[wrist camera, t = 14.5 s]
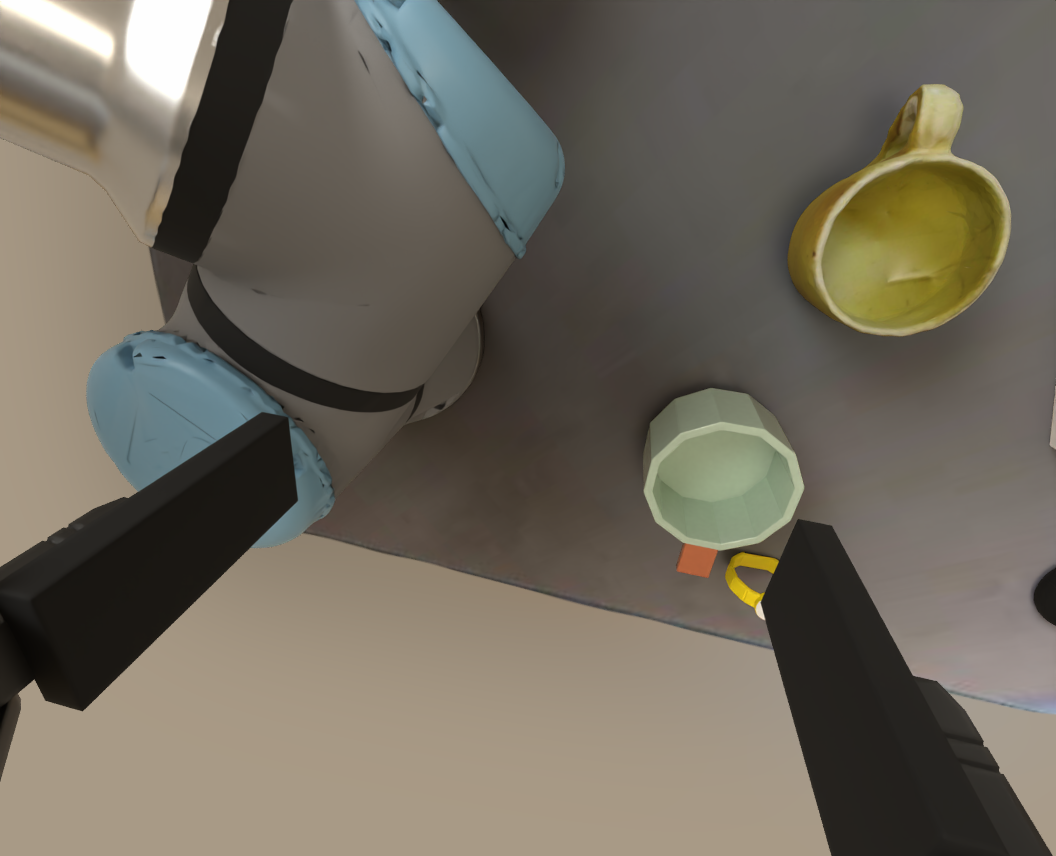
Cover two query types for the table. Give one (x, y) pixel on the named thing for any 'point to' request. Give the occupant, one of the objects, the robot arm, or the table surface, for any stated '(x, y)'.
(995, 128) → the table surface
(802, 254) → the mug
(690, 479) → the pale green cup
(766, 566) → the watch
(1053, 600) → the webcam
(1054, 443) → the block
